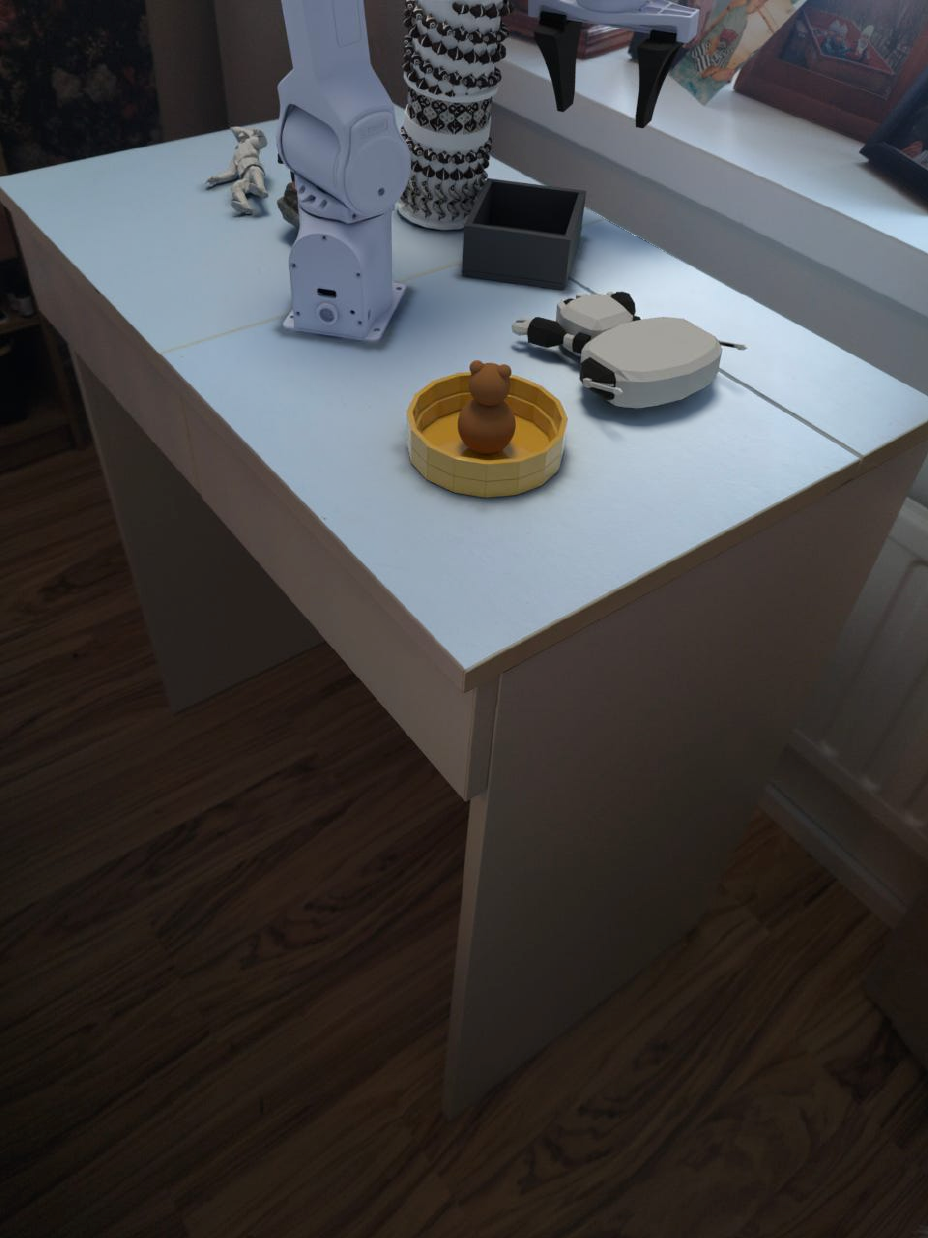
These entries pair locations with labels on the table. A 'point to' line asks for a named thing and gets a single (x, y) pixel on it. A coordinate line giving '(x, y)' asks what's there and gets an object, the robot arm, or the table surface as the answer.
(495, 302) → the table surface
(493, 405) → the teddy
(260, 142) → the soldier figure
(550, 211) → the bin
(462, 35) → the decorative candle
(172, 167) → the table surface
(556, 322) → the robot toy
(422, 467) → the bowl
